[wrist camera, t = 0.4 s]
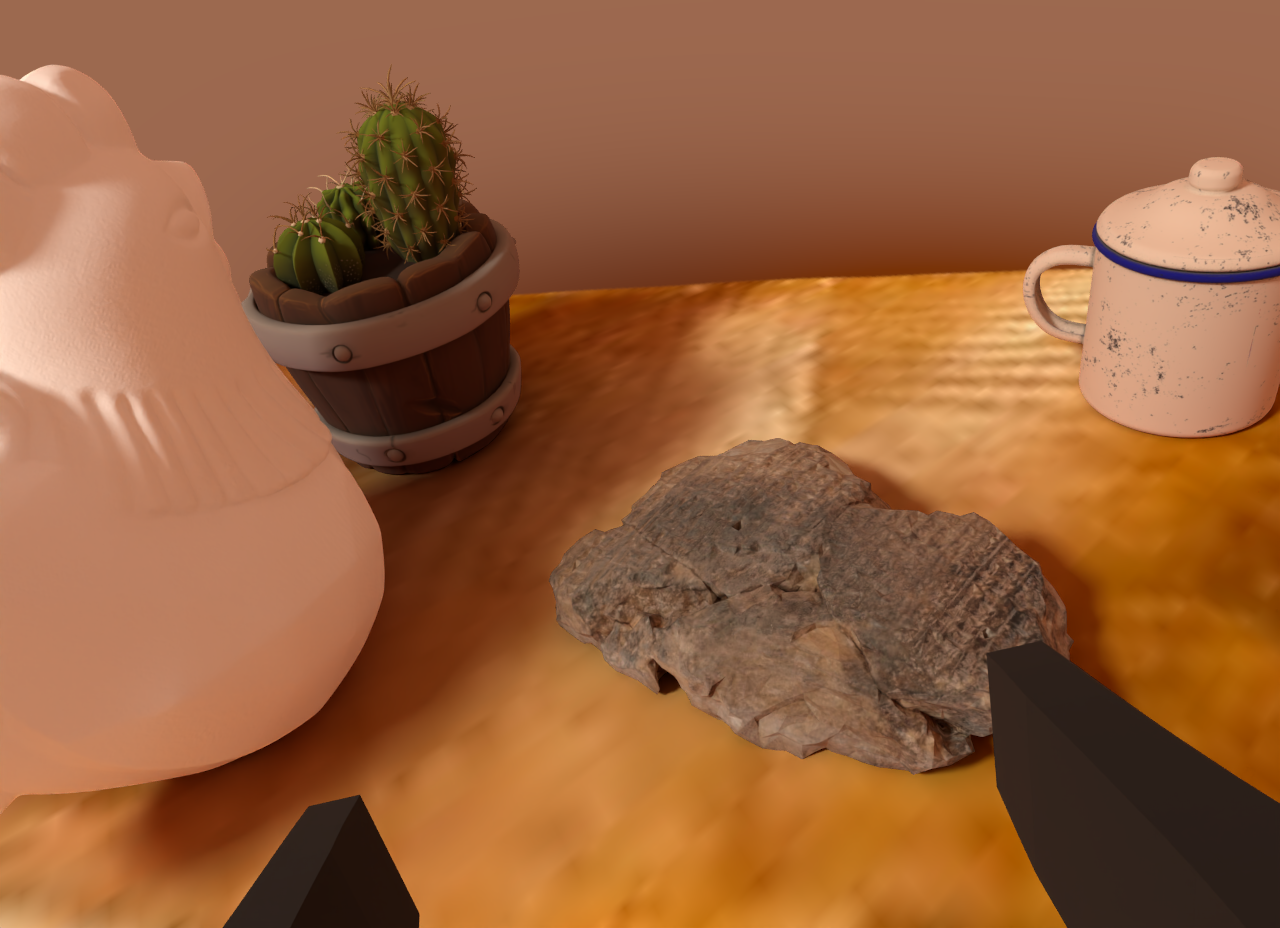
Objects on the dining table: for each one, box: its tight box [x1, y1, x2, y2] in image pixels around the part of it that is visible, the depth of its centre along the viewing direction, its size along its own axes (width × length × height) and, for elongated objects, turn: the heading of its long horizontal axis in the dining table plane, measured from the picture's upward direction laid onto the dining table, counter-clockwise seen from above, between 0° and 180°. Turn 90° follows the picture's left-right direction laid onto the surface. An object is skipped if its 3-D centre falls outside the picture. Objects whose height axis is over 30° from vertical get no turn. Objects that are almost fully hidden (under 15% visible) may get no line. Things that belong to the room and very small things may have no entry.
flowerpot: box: [241, 66, 521, 474], centre depth 50 cm, size 14×15×20 cm
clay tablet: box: [549, 438, 1074, 775], centre depth 37 cm, size 14×5×20 cm
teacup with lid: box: [1023, 157, 1280, 438], centre depth 45 cm, size 12×9×12 cm
